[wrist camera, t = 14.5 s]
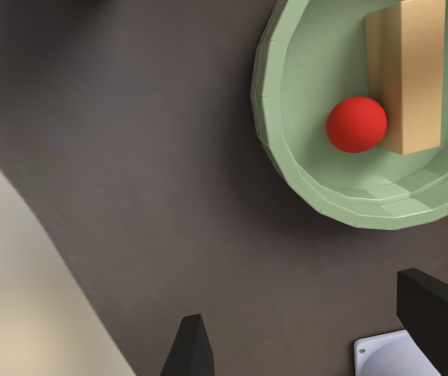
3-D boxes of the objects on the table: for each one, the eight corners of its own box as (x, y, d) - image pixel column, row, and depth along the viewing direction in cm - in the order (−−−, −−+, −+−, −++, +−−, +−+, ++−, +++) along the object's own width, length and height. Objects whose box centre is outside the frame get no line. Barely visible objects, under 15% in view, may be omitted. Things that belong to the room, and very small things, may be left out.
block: (402, 135, 17) (440, 146, 15) (370, 144, 17) (402, 156, 15) (401, 5, 15) (446, -11, 12) (363, 15, 15) (400, 1, 12)
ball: (331, 127, 18) (357, 166, 17) (306, 117, 16) (333, 161, 15) (375, 92, 16) (407, 133, 15) (353, 76, 14) (388, 122, 13)
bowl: (479, 175, 19) (545, 198, 16) (269, 220, 20) (284, 253, 16) (515, -98, 14) (627, -162, 10) (227, -33, 14) (235, -73, 11)
